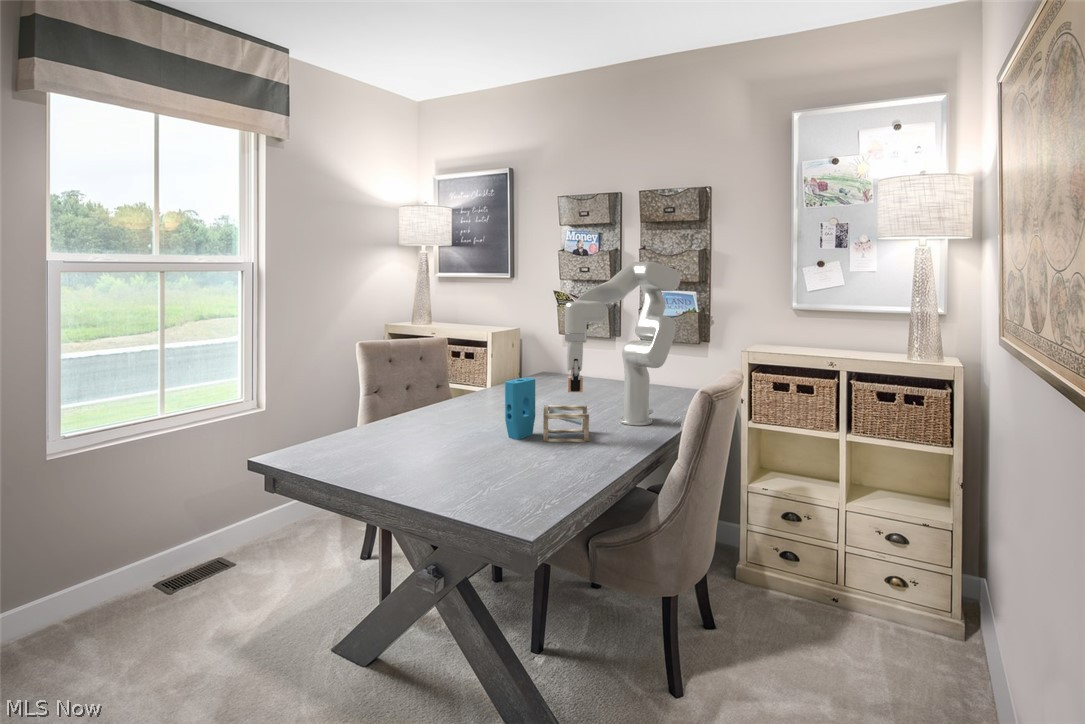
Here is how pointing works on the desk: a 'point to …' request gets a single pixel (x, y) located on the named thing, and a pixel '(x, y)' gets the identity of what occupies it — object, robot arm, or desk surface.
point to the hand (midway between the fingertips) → (575, 389)
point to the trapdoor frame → (566, 416)
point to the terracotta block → (570, 384)
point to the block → (520, 407)
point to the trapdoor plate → (554, 411)
